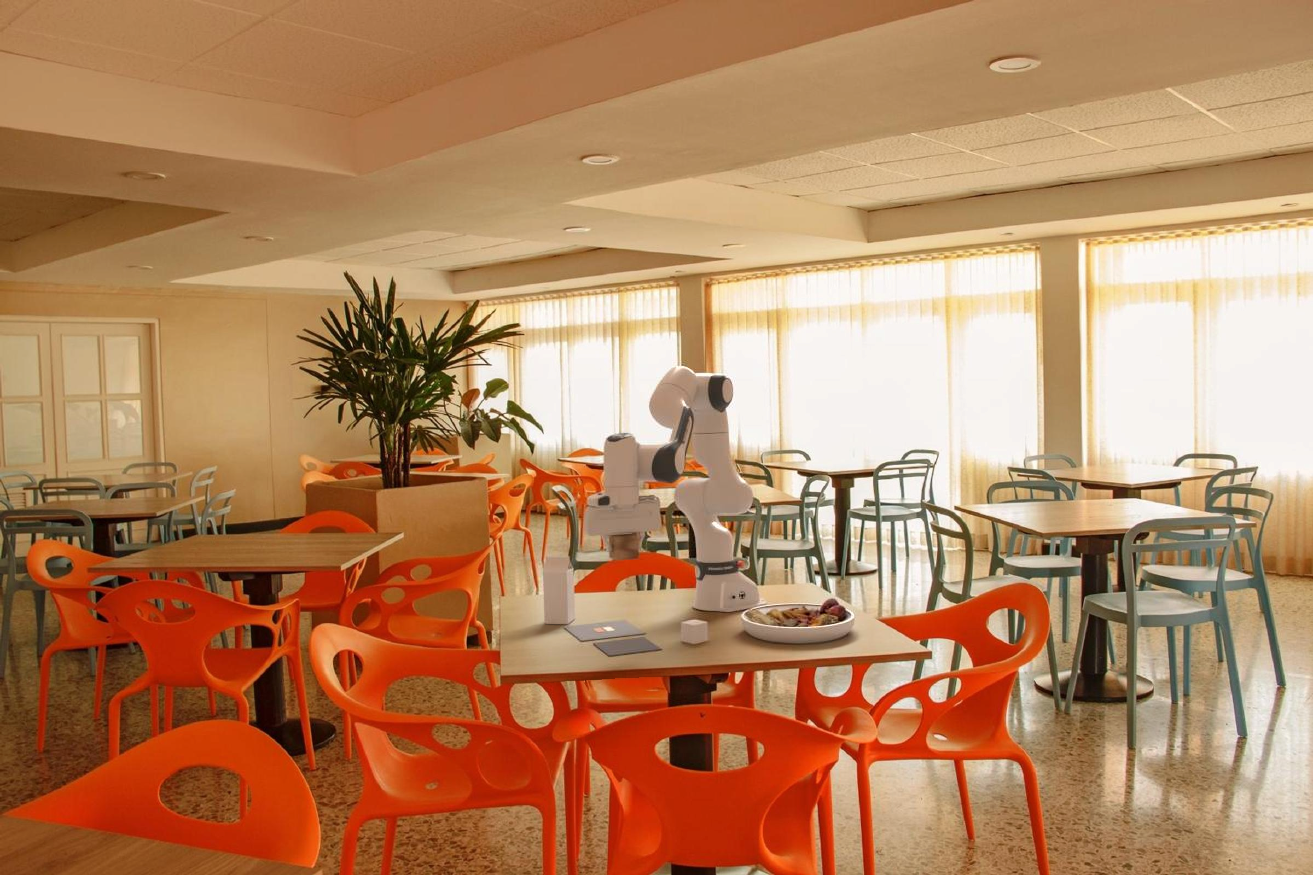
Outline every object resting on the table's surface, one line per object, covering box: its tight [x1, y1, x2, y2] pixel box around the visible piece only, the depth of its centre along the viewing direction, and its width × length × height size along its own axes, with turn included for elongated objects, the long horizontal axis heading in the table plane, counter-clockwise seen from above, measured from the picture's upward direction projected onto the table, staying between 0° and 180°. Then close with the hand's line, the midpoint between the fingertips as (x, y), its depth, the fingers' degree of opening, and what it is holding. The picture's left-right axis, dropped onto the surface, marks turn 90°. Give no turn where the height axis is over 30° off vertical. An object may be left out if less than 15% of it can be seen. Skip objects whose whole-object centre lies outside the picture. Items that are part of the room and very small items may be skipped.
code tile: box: [563, 619, 646, 643], centre depth 276 cm, size 18×18×1 cm
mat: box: [592, 636, 663, 657], centre depth 258 cm, size 14×14×1 cm
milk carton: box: [542, 556, 576, 625], centre depth 289 cm, size 7×7×19 cm
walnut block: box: [608, 533, 640, 562], centre depth 257 cm, size 6×6×6 cm
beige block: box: [680, 618, 709, 645], centre depth 262 cm, size 5×5×5 cm
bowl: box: [740, 597, 855, 645], centre depth 268 cm, size 30×30×8 cm
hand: (623, 550), depth 257 cm, fingers closed on walnut block, 6 cm apart
